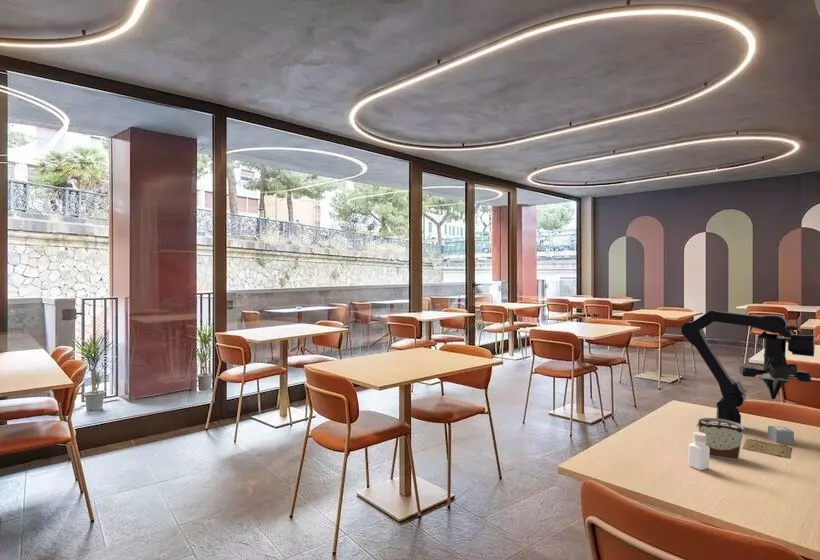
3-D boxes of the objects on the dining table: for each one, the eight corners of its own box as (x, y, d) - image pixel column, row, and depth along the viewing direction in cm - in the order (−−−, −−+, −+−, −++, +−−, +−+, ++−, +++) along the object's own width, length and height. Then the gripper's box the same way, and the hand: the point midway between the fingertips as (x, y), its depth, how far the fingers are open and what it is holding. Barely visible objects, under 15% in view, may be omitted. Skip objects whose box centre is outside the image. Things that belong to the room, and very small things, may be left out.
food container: (740, 454, 150) (741, 420, 150) (744, 461, 145) (745, 427, 144) (693, 447, 155) (694, 415, 155) (695, 453, 150) (696, 420, 149)
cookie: (745, 439, 164) (745, 436, 164) (792, 449, 156) (792, 446, 156) (740, 449, 155) (740, 446, 155) (790, 460, 147) (790, 457, 147)
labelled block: (776, 443, 160) (776, 430, 160) (767, 437, 165) (768, 425, 165) (793, 444, 159) (793, 431, 159) (784, 438, 164) (784, 426, 164)
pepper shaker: (700, 471, 137) (702, 436, 137) (687, 465, 141) (688, 432, 140) (709, 468, 139) (711, 434, 138) (695, 463, 142) (697, 430, 142)
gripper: (747, 354, 163) (745, 401, 164) (818, 359, 156) (816, 408, 157) (739, 348, 174) (738, 393, 174) (805, 353, 166) (803, 399, 167)
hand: (772, 398), depth 168 cm, fingers closed
